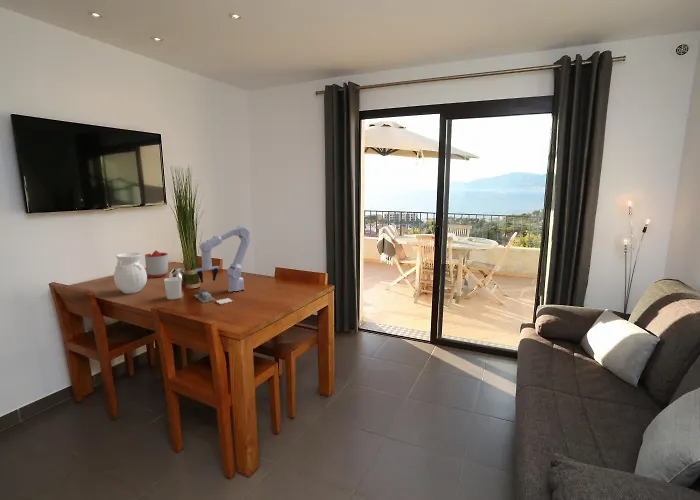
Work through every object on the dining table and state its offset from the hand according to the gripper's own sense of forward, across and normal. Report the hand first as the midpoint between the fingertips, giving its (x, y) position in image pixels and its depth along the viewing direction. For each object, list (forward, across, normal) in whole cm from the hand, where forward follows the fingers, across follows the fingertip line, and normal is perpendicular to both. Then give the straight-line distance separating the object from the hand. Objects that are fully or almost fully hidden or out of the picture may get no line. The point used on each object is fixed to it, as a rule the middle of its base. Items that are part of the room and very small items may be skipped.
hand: (208, 281), depth 232 cm
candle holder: (+9, +19, -9) cm, 23 cm away
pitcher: (+9, +37, -38) cm, 54 cm away
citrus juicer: (+9, +15, -72) cm, 75 cm away
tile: (+9, -3, +16) cm, 19 cm away
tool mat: (+9, +4, +5) cm, 11 cm away
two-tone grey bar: (+9, +4, +5) cm, 11 cm away
